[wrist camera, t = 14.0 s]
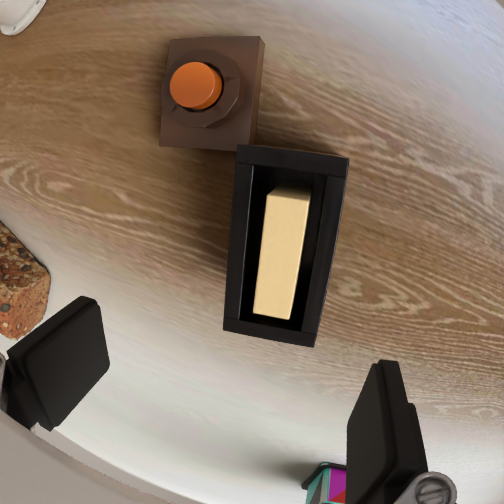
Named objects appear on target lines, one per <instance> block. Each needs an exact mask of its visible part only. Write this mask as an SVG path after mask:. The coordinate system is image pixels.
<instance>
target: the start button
mask: <svg viewBox="0 0 504 504" xmlns="http://www.w3.org/2000/svg"><path fill="white" fill-rule="evenodd" d="M221 89H222V82H221V78H220V76H219V74H218V73H217V72H216V71H215V70H213V69H212V68H210V67H209V66H207V65H205V64H203V63H200V62H190V63H187V64H185V65H183V66H181V67H180V68H179V69H178V70H177V71H176V72H175V73H174V75H173V76H172V79H171V82H170V92H171V95H172V97H173V99H174V100H175V101H176V103H178V104H179V105H181V106H184V107H188V108H192V109H204V108H207V107H209V106H210V105H212V104H213V103H214V102H215V101H216V100H217V99H218V97H219V95H220V93H221Z"/></svg>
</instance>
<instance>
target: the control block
mask: <svg viewBox="0 0 504 504" xmlns="http://www.w3.org/2000/svg"><path fill="white" fill-rule="evenodd" d="M264 47H265V44H264V42H263V41H262V39H261V37H260V36H220V37H199V38H185V39H174V40H170V47H169V54H168V61H167V69H166V74H165V75H164V77H163V80H162V89H161V100H162V103H163V105H162V116H161V128H160V142H159V146H160V147H182V148H199V149H214V150H226V151H237V145H238V144H252V145H254V144H255V134H256V124H257V114H258V105H259V95H260V85H261V76H262V66H263V56H264ZM190 62H200V63H203V64H205V65H207V66H209V67H210V68H212V69H213V70H215V71H216V72H217V73H218V74H219V76H220V78H221V82H222V89H221V93H220V95H219V97H218V99H217V100H216V101H215V102H214V103H213V104H212V105H210V106H209V107H207V108H204V109H192V108H188V107H184V106H181V105H179V104H178V103H176V101H175V100H174V99H173V97H172V95H171V92H170V82H171V79H172V76H173V75H174V73H175V72H176V71H177V70H178V69H179V68H180V67H181V66H183V65H185V64H187V63H190Z"/></svg>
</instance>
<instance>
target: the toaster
mask: <svg viewBox="0 0 504 504" xmlns="http://www.w3.org/2000/svg"><path fill="white" fill-rule="evenodd" d="M348 166H349V158H346V157H344V156H341V155H334V154H328V153H322V152H315V151H308V150H300V149H293V148H285V147H276V146H267V145H252V144H238V145H237V153H236V164H235V176H234V187H233V199H232V211H231V223H230V236H229V249H228V262H227V276H226V290H225V305H224V319H223V330H224V331H229V332H234V333H238V334H243V335H248V336H253V337H258V338H263V339H268V340H273V341H278V342H284V343H289V344H295V345H300V346H306V347H312V348H314V345H315V341H316V337H317V332H318V328H319V324H320V320H321V315H322V311H323V306H324V302H325V297H326V293H327V288H328V283H329V278H330V273H331V268H332V263H333V258H334V253H335V247H336V242H337V236H338V231H339V225H340V219H341V213H342V207H343V201H344V194H345V188H346V181H347V178H346V177H347V174H348ZM283 181H287V182H294V183H300V184H307V185H312V186H313V192H312V198H311V205H310V212H309V218H308V225H307V231H306V237H305V243H304V250H303V256H302V261H301V267H300V273H299V278H298V282H297V287H296V292H295V296H294V301H293V305H292V309H291V314H290V318H289V319H282V318H277V317H272V316H267V315H262V314H257V313H253V307H254V299H255V291H256V282H257V274H258V266H259V258H260V250H261V241H262V233H263V225H264V216H265V208H266V199H267V195H268V194H269V193H270V192H271V191H273V190H274V189H275V188H276V187H277V186H279V185H280V184H281V183H282V182H283Z"/></svg>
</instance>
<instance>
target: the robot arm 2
mask: <svg viewBox="0 0 504 504" xmlns="http://www.w3.org/2000/svg"><path fill="white" fill-rule="evenodd" d="M302 489H305V490H308V491H307V498H306V504H345V491H346V466H344V465H338V464H333V463H328V462H325V463H322V464H321V465H320V466H319V467H318V468H317V469H316V470H315V471H314V473H313V474H312V475H311V476H310V477H309V478H308V479H307V480H306V481H305V482H304V483H303V484H302Z"/></svg>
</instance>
